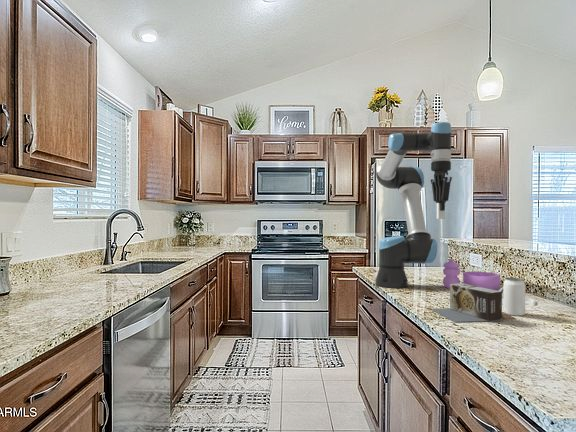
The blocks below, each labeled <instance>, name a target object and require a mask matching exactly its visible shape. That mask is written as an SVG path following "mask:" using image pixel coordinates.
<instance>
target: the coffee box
mask: <svg viewBox="0 0 576 432" xmlns="http://www.w3.org/2000/svg"><path fill="white" fill-rule="evenodd" d="M449 308H450V309H451V310H455V311H458V312H462V313H465V314H468V315H472V316H475V317H478V318H482V319H485V320H488V321H489V320H496V319H501V320H502V319H503V318H502V313H503V304H502V292H501V291H499V290H497V291H496V290H491V289H487V288H482V287H478V286H473V285H469V284H464V283H463V282H460V283H459V284H450V288H449Z"/></svg>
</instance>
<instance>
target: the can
mask: <svg viewBox="0 0 576 432" xmlns="http://www.w3.org/2000/svg"><path fill="white" fill-rule="evenodd" d="M503 287H504V288H503ZM503 287H502V288H503V304H502V311H503V313H505V314H507V315H510V316H512V317H523V316H525V314H526V305H525V298H526V282H525V279H523V278H518V277H505V278H504V281H503Z"/></svg>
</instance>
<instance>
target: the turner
mask: <svg viewBox="0 0 576 432" xmlns="http://www.w3.org/2000/svg"><path fill="white" fill-rule="evenodd" d="M501 319H502V320H515V319H516V318H515V316H513V315H508V314H505V313H504V312H502V318H501Z"/></svg>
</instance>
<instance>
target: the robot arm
mask: <svg viewBox="0 0 576 432" xmlns="http://www.w3.org/2000/svg"><path fill="white" fill-rule="evenodd" d="M430 126H431V128H430V132H422V133H421V132H416V133H415V132H411V133H410V132H407V133H406V132H404V133H401V132H397V133H390V135H389V137H388V144H387V145H388V152H387V154H386V156H385V158H384V159H383V162H382V164H379V166H378V167H377V170H376V171H375V176H376V181H377V182H378V183H379V184H380V185H381V186H383V187H384V188H387V189H391V190H392V189H393V190H395V189H396V190H397V189H398V193H399V194H400V195H401V196H402V202H403V208H404V214H405V215H404V216H405V221H406V228H407V235H406V236H403V235H397V236H386V237H383V238H381V239H379V242H378V244H379V245H378V263H379V264H378V271H377V273H376V274H377V275H376V277H375V283H374V284H375V286H377V287H382V288H387V289H388V288H389V289H390V288H391V289H398V288H399V289H402V288H408V287H409V281H408V278H407V274H406V272H405V264H423V265H425V264H432V263H434V261H435V260H436V259H437V254H438V242H437V240H436V239H435V238H432V235H431V233H429V232H428V231H427V228H426V223H425V221H426V220H425V217H424V210H423V206H422V205H423V204H422V199H421V194H420V192H421V191H422V188H423V187H424V185H425V174H424V172H423V170H422V168H420V167H418V166H400V165H401V163H402V162H403V160H404V158H405V156H406V155H407V153H408V152H413V151H414V152H420V151H422V152H425V153H430V159H431V163H430V171H432V172H434V174H433V179H430V183H431V189H432V196H433V197H432V198H433V202H435V203H436V220H444V219H445V220H446V202H448V201H449V197H450V189H451V182H452V179H453V177H452V176H449V172H448V171H451V170H452V162H451V160H452V125H451V123H450V122H448V121H447V122H446V121H442V122H441V121H439V122H435V123H433V124H431V125H430Z"/></svg>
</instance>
